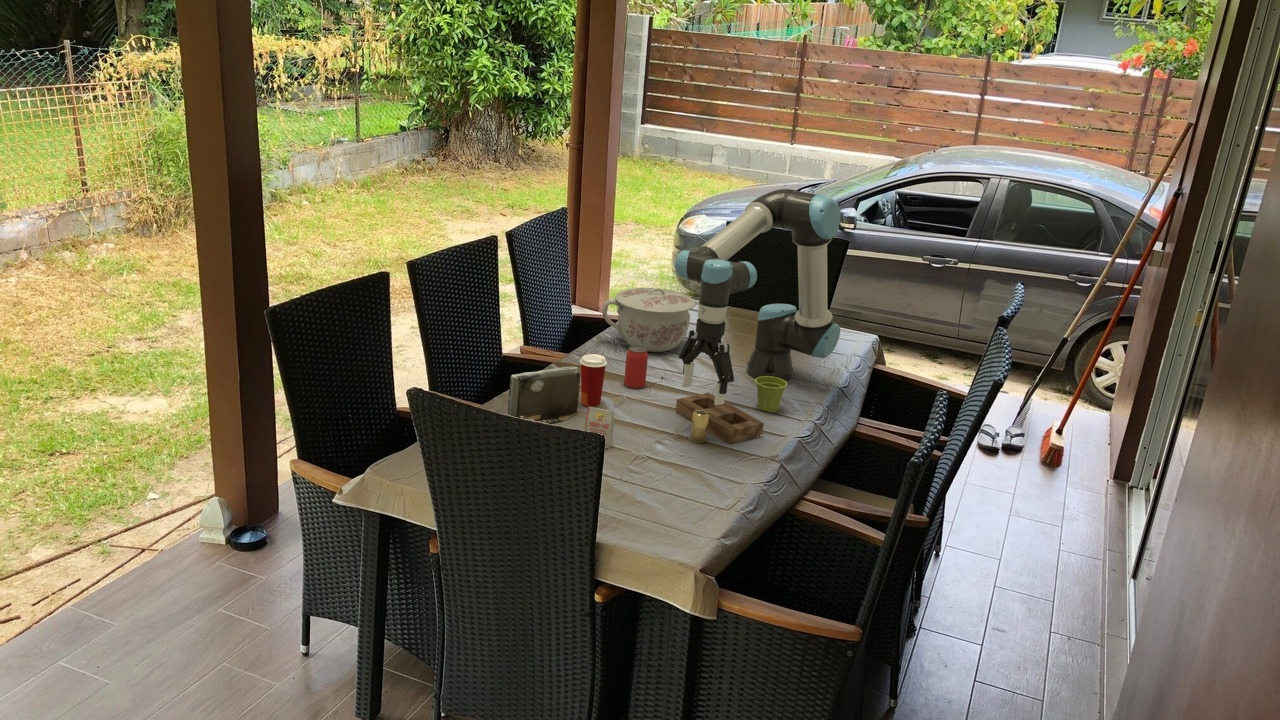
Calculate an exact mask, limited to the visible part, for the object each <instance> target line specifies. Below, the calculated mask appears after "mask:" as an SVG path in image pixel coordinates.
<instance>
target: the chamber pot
mask: <svg viewBox="0 0 1280 720" xmlns="http://www.w3.org/2000/svg"><path fill="white" fill-rule="evenodd" d="M696 304H697V303H696V301H695V300H694V299H693V298H692V297H691V296H689V295H687V294H685V293H683V292H678V291H675V290H672V289H667V288H666V289H665V288H659V287H635V288H628V289H624V290H621V291H619V292H617V293H616V294H615V298H613V297H610V298H607V300H605V301H604V303H603V304H602V309H601V313H602V317H603V318H604V320H605V321H606V323H607V324H608V325H610V327H612V328H614V329H615V330H616V331H617V332H618V334H619V335H620V336H621V337H622V338H623V339H624V340H625V342H626V344H628V345H629V347H631V346H642V347H645V348H646V349H647V353H662V352H663V353H664V352H667V351H673V350H674V349H676V347H678V346H679V345H680V344H681V342H682V341H683V339H685V337H686V335H687V333H688V330H689V327H690V320H691V317H690V316H691V314H690V313H689V311H690V310H692V309H694V308H695V307H696ZM611 305H614V306H616V307H617V310H616V312H617V314H618V315H617V321H618V324H617V323H615V322H614V321H612V320H611V318H610V317H609V316H608V313H607V312H608V307H609V306H611Z"/></svg>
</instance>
